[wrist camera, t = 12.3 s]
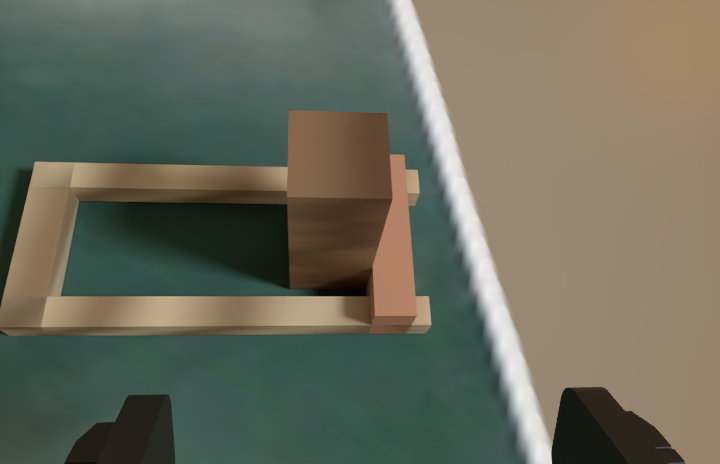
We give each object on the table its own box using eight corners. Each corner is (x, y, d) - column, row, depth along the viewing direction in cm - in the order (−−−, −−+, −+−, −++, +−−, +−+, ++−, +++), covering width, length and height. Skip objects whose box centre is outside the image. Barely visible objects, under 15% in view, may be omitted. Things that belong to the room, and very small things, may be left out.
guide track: (9, 336, 29) (-20, 317, 26) (45, 176, 33) (23, 145, 30) (425, 333, 31) (437, 315, 28) (412, 183, 35) (422, 155, 32)
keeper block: (290, 289, 31) (286, 196, 22) (291, 221, 33) (288, 110, 24) (365, 289, 31) (392, 198, 23) (362, 222, 33) (387, 113, 24)
